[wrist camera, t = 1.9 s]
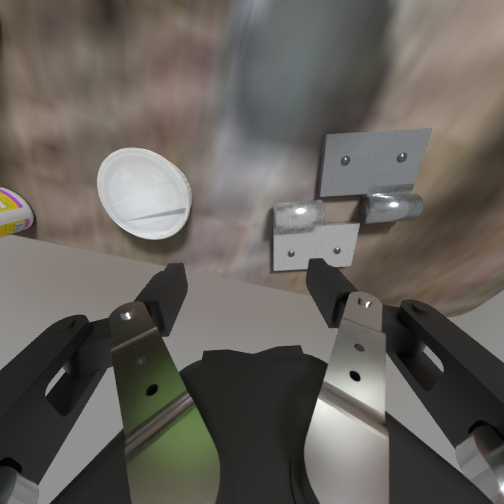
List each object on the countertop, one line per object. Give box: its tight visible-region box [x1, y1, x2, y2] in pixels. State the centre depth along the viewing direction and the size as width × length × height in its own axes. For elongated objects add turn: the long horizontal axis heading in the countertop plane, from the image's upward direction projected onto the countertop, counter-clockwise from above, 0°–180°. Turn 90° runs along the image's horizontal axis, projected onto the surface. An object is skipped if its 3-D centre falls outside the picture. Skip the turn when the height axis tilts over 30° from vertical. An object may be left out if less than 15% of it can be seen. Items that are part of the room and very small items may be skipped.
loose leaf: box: [273, 200, 360, 271], centre depth 29 cm, size 14×12×4 cm
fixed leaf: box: [317, 128, 432, 224], centre depth 26 cm, size 15×12×4 cm
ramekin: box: [97, 148, 192, 240], centre depth 25 cm, size 11×11×5 cm
